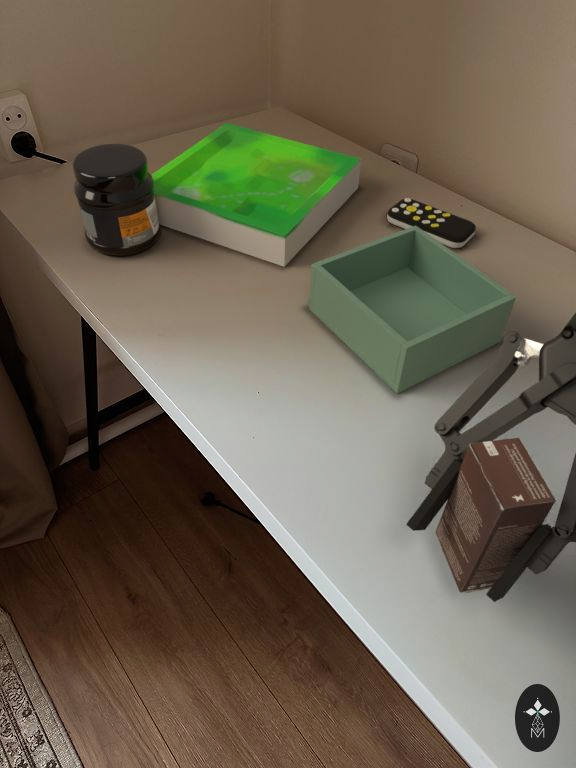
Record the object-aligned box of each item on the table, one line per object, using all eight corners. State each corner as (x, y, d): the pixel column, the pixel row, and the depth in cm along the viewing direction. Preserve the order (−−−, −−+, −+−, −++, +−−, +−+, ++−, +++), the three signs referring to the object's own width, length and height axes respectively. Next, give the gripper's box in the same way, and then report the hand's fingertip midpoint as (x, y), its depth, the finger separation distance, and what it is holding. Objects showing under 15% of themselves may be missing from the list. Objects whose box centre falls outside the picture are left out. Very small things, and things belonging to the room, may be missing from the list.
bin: (500, 341, 78) (516, 296, 73) (397, 394, 72) (406, 348, 67) (407, 269, 88) (415, 225, 83) (308, 308, 82) (311, 263, 77)
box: (510, 585, 52) (559, 501, 43) (458, 594, 51) (497, 511, 42) (481, 522, 56) (520, 434, 47) (432, 530, 55) (463, 442, 46)
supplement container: (175, 241, 92) (165, 163, 83) (109, 268, 87) (92, 188, 78) (137, 210, 97) (124, 134, 88) (73, 234, 92) (53, 155, 84)
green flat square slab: (227, 151, 111) (226, 122, 108) (358, 188, 103) (361, 159, 100) (138, 217, 96) (133, 186, 92) (284, 266, 88) (285, 235, 84)
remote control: (458, 252, 91) (461, 240, 90) (382, 222, 96) (384, 210, 95) (477, 234, 95) (480, 222, 93) (403, 205, 100) (405, 193, 99)
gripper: (786, 397, 43) (574, 650, 47) (534, 265, 53) (378, 481, 57) (805, 377, 37) (559, 671, 41) (515, 231, 47) (341, 477, 51)
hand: (453, 560), depth 49 cm, fingers closed on box, 7 cm apart
